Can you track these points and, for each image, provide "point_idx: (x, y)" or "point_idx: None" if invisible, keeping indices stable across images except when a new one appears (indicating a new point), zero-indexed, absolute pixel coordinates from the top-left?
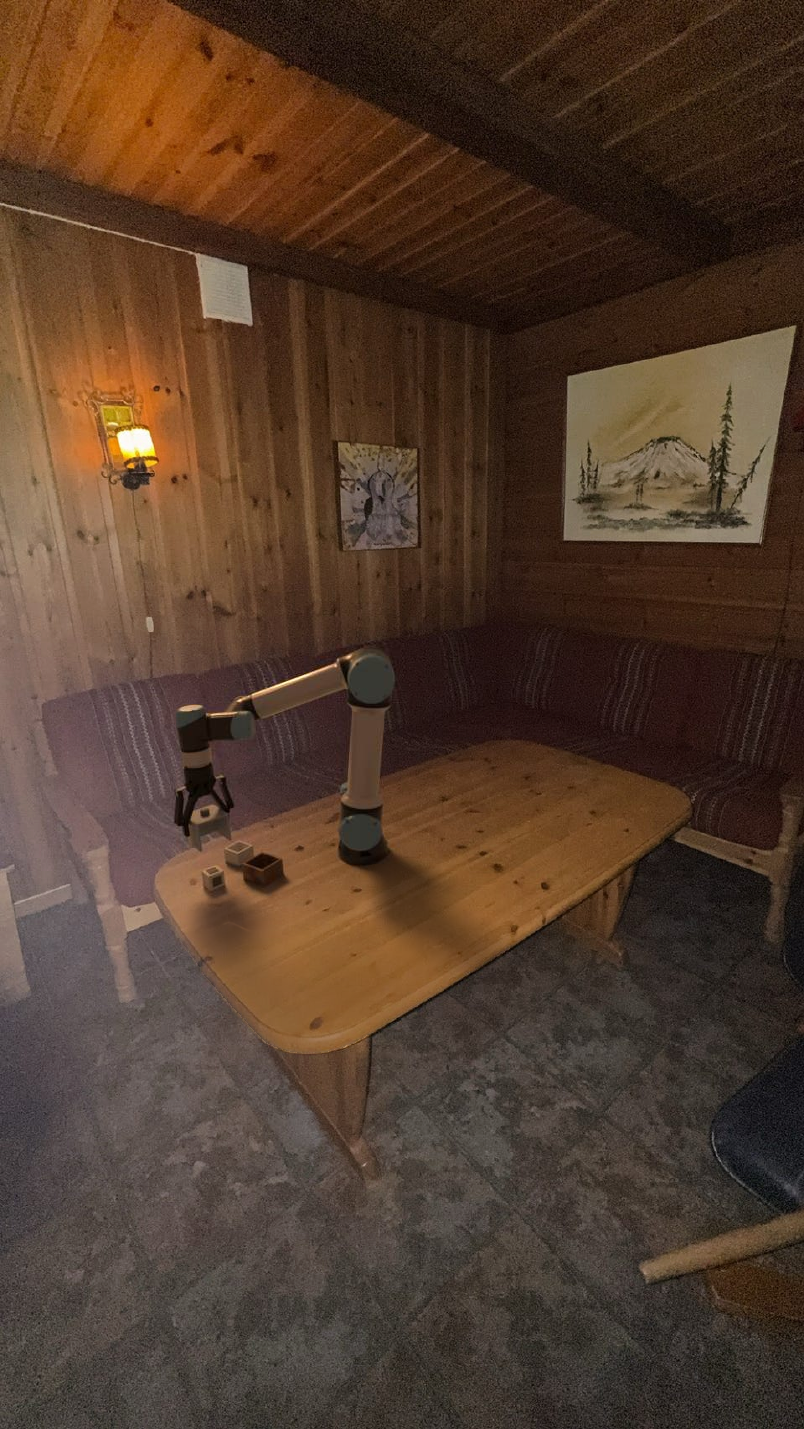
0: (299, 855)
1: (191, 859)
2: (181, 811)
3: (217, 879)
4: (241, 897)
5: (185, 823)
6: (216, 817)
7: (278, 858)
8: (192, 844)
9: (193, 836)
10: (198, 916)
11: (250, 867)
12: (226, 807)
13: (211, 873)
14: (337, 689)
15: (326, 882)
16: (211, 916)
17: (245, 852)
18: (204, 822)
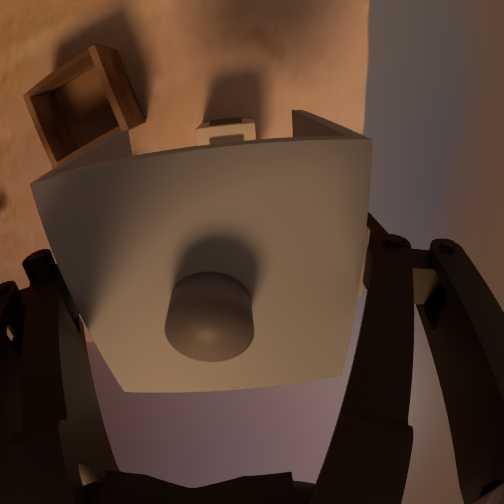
0: (3, 168)
1: None
2: (485, 322)
3: (224, 120)
4: (189, 34)
5: (405, 247)
6: (135, 164)
7: (30, 101)
8: None
9: None
10: (326, 26)
11: (113, 91)
12: (32, 292)
13: (238, 136)
14: None
15: (4, 17)
16: (298, 2)
17: None
18: (282, 138)
